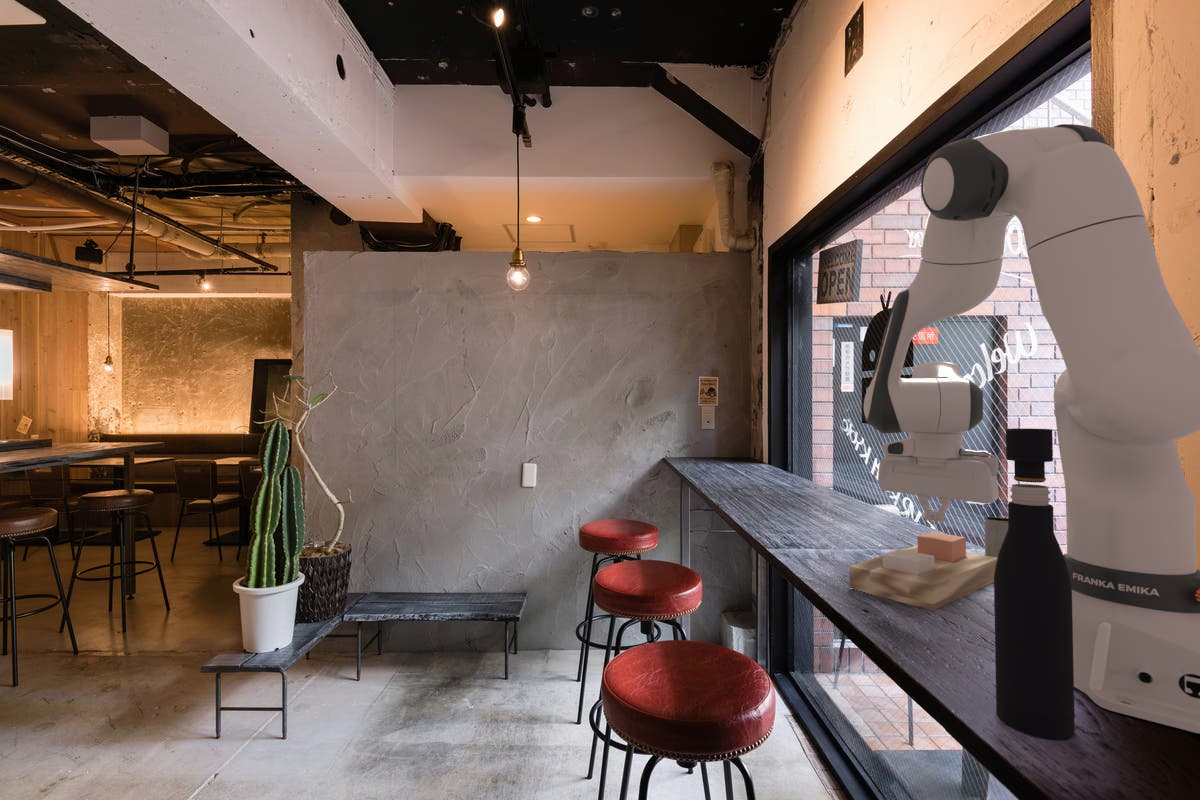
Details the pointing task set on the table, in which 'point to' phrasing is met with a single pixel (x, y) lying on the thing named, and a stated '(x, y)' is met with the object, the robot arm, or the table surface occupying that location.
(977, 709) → the table surface
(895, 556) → the beige block
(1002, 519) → the planter
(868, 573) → the light brown flat block
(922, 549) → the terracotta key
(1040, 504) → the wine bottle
